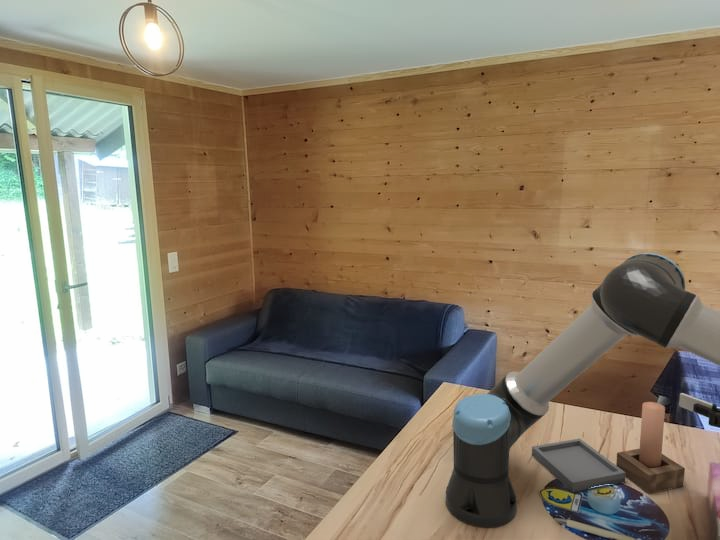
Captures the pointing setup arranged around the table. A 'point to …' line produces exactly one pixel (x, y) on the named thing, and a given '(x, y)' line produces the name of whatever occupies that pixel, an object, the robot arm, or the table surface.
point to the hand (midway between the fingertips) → (702, 392)
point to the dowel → (651, 434)
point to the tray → (577, 465)
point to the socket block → (651, 472)
